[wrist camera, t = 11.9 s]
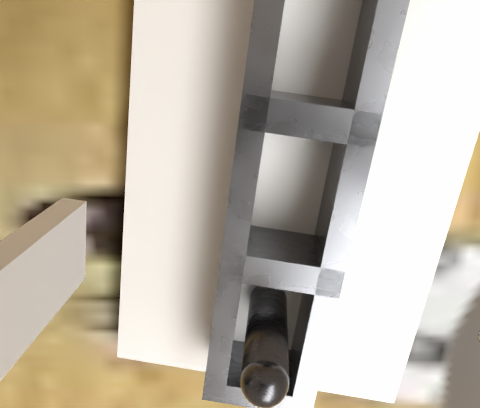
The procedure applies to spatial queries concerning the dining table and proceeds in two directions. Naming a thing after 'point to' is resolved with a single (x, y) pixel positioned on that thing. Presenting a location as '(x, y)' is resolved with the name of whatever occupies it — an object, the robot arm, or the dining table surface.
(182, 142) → the white board
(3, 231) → the dining table surface
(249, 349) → the post
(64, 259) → the robot arm
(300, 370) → the grey compartment rack
